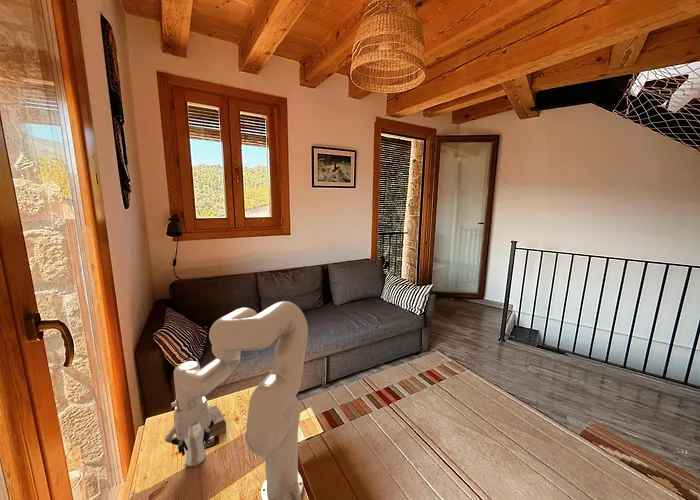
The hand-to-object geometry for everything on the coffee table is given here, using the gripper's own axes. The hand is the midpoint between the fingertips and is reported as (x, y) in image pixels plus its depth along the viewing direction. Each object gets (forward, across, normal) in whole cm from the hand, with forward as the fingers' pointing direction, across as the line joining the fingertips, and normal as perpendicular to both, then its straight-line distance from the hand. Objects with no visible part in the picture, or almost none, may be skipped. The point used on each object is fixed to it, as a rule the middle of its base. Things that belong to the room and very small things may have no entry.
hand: (194, 446), depth 96 cm
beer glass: (+5, 0, 0) cm, 5 cm away
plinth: (+5, +7, +12) cm, 14 cm away
